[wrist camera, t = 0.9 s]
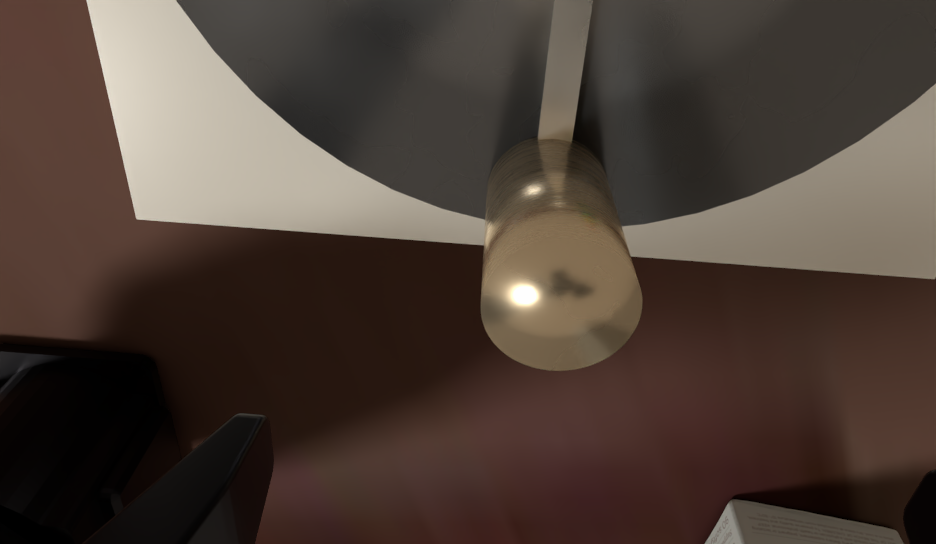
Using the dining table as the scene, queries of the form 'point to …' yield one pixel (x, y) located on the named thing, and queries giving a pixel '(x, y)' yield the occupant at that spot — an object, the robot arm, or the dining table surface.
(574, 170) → the handwheel
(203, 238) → the dining table surface
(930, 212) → the base plate
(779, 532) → the supplement box
